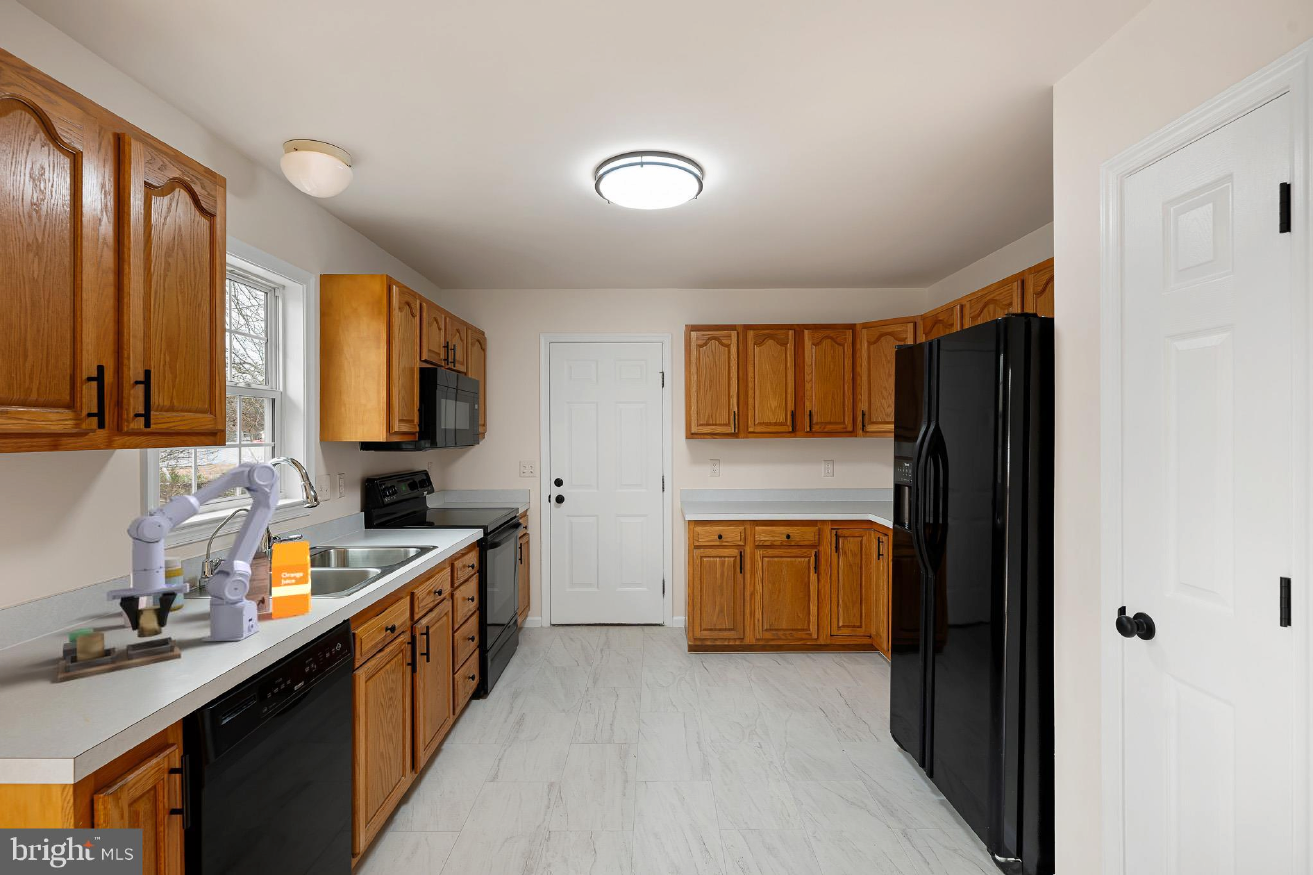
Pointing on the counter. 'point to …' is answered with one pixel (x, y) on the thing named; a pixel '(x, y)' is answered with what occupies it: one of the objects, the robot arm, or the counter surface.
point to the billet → (148, 621)
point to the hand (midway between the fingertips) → (149, 627)
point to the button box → (69, 649)
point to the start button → (78, 634)
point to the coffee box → (259, 582)
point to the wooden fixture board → (113, 656)
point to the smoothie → (141, 604)
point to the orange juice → (291, 579)
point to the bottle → (172, 581)
